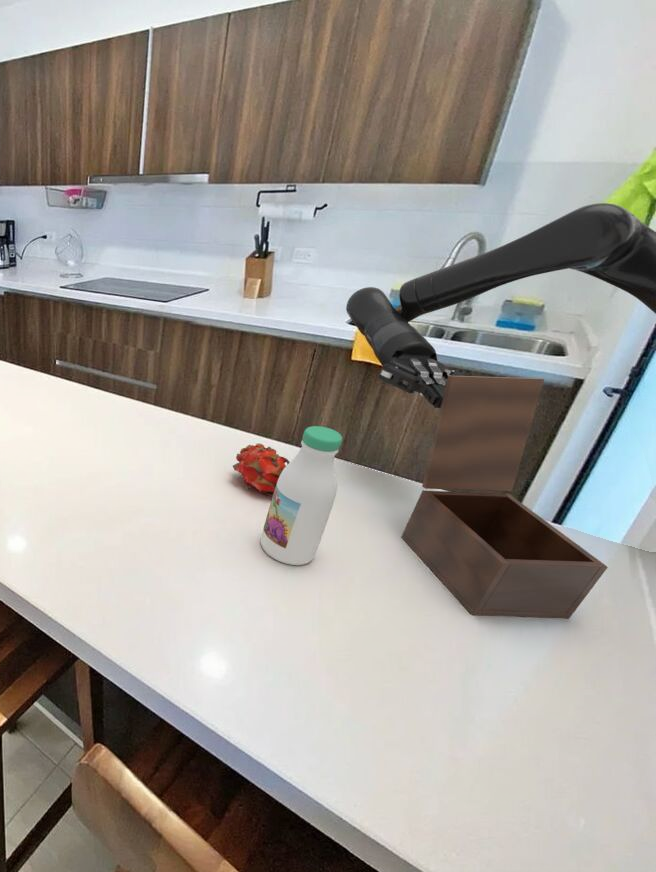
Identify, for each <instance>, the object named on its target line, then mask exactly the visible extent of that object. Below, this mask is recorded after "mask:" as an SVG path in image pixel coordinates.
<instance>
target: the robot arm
mask: <svg viewBox="0 0 656 872" xmlns="http://www.w3.org/2000/svg"><path fill="white" fill-rule="evenodd" d="M567 269H569V270H574V271H576V272H580V273H584V274H586V275H589V276H591V277H593V278H596V279H598V280H600V281H602V282H605V283H607V284H609V285H612V286H613V287H616V288H618V289H620V290H622V291H623V292H626V293H628V294H629V295H631V296H632V297H633V298H636V299H637V300H638V301H639V302H641V303H642V304H643V305H645V306H646V307H647V308H648V309H649V310H651V311H652V312H653V313H654V314H655V315H656V230H654V229H652V228H651V227H649V226H648V225H646V224H645V222H643V221H641V220H640V219H639V218H638V217H637V216H635V214H634V213H631V211H630V210H628V209H626V208H625V207H623V206H620V205H617V204H615V203H608V202H596V203H591V204H587V205H584V206H581V207H578V208H577V209H574V210H572V211H570V212H568V213H566V214H564V215H562V216H560V217H559V218H557V219H555V220H553V221H551V222H549V223H547V224H545V225H543V226H541V227H539V228H537V229H535V230H533V231H531V232H529V233H527V234H525V235H522V236H520V237H519V238H516V239H514V240H512V241H510V242H508V243H506V244H503V245H501V246H499V247H496V248H494V249H491V250H488V251H486V252H484V253H482V254H479V255H476V256H473V257H469V258H468V259H465V260H463V261H460V262H456V263H454V264H451V265H449V266H448V265H447V266H445V267H443V268H442V267H441V268H440V269H436V270H434V271H431V272H429V273H426V274H423V275H421V276H418V277H415V278H413V279H410V280H408V281H406V282H404V283H403V284H402V285H401V286H400V287H399V292H398V299H399V303H400V304H398V305H396V306H394V305H393V303H392V302H391V300H390V299H389V297H388V296H387V295H386V294H385V292H384V291H383V290H382V289H380V288H377V287H375V286H367V287H363V288H360V289H358V290H356V291H355V292H354V293H353V294H351V296H350V297H349V298H348V300H347V302H346V305H345V306H346V307H345V310H346V313H347V315H348V317H349V318H350V319H351V321H352V322H353V324H354V325H355V327H356V328H357V330H358V331H359V333H360V334H361V335H362V336H364V338H365V340H366V342H367V343H368V345H369V347H370V348H371V349H372V351H373V354H374V356H375V358H376V359H377V360H378V362H379V363H380V364H381V366H382V368H381V371H380V372H379V375H378V379H379V380H381V381H383V382H385V383H387V384H389V385H392V386H394V387H396V388H398V389H399V390H402V391H404V392H405V393H408V394H414V392H416V393H417V394H418V395H420V396H422V397H424V399H426V401H427V402H428V403H429V404H430V405H432V406H433V407H434V408H435V409H440V408H441V404H442V400H443V396H444V391H445V387H446V383H447V379H448V376H465V373H466V370H465V369H463V368H457V369H455V370H453V369H452V370H450V369H447V367H446V365H445V364H443V363H442V362H440V361H438V356H437V351H436V349H435V347H434V346H433V345H432V344H431V343H430V342H429V341H428V339H426V337H424V335H422V333H421V332H420V331H419V330H418V329H417V328H415V327H414V326H412V325H411V323H410V322H411V321H413V320H415V319H416V318H419V317H421V316H423V315H426V314H429V313H432V312H436V311H440V310H442V309H445V308H448V307H451V306H455V305H457V304H460V303H463V302H466V301H468V300H471V299H473V298H475V297H477V296H480V295H482V294H484V293H486V292H489V291H491V290H494V289H496V288H499V287H501V286H504V285H507V284H510V283H512V282H515V281H519V280H522V279H525V278H529V277H533V276H538V275H542V274H548V273H552V272H557V271H558V272H559V271H562V270H567Z"/></svg>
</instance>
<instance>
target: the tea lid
mask: <svg viewBox="0 0 656 872" xmlns="http://www.w3.org/2000/svg"><path fill="white" fill-rule="evenodd" d="M544 382H545V378H539V377H538V378H537V377H509V376H508V377H507V376H505V377H504V376H473V375H471V376H470V375H463V376H448V379H447V383H446V387H445V391H444V396H443V400H442V404H441V408H439V413H438V417H437V421H436V426H435V429H434V434H433V439H432V443H431V447H430V451H429V456H428V460H427V465H426V468H425V473H424V476H423V482H422V485H421V488H423V489H427V490H450V491H453V490H454V491H455V490H456V491H481V492H482V491H483V492H484V491H486V492H487V491H488V492H513V489H514V486H515V483H516V478H517V475H518V472H519V468H520V464H521V461H522V458H523V455H524V451H525V447H526V443H527V440H528V437H529V434H530V430H531V426H532V423H533V420H534V416H535V413H536V409H537V406H538V402H539V399H540V395H541V392H542V389H543V385H544Z"/></svg>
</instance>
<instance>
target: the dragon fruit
mask: <svg viewBox="0 0 656 872" xmlns="http://www.w3.org/2000/svg"><path fill="white" fill-rule="evenodd" d="M240 449H241V450H240V451H239V453H237V454H236V456H235V459H236V461H237V462H236V463H234V464H233V465H232V468H233V470H234V471H236V472H238V473H239V474H241V476H242V478H243V483H244V487H245V488H246V489H249V488H251V487H252V486H253V487H254V488H255V489H256V490H258V491H259V492H260V493H262V494H263V495H265V496H269V497H273V494H274V490H275V487H276V484H277V482H278V479H279V477H280V474H281V473H282V471H283V469H284V468H285V467H286V466H287V465H288V464H289V463H290V462H291V461H290V460H289V459H288V458H287V457H284V456H280V455H279V454H278V453H277V450H276V449H275V448H272V447H271V446H267V447H265V445H264V444H262V443H256V444H255V445H252V444H248V445H247V446H246V447H243V448H240ZM285 463H286V464H285Z"/></svg>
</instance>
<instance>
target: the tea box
mask: <svg viewBox="0 0 656 872" xmlns="http://www.w3.org/2000/svg"><path fill="white" fill-rule="evenodd" d="M418 497H419V498H418V500H417V501H416V504H415V506H414V508H413V510H412V513H411V515H410V517H409V519H408V521H407V523H406V525H405V527H404V530H403V532H402V534H401V537H400V538H402V539H403V541H404V542H405V543H406V544H407V545H408V547H410V549H411V550H412V551H414V553H415V554H416V555H417V556H418V557H419V558H420V560H421V561H422V562H423V563H424V564H425V565H426V566H427V567H428V569H430V571H431V572H432V573H433V574H434V575H435V576H436V577H437V578H438V579H439V581H440V582H441V583H442V584H443V585H444V586H445V587H446V588H447V590H449V592H450V593H451V594H452V595H453V596H454V597H455V598H456V600H458V601H459V603H460V604H461V605H462V606H463V607H464V608H465V610H467V612H468V613H469V614H470V615H472V616H496V617H497V616H499V617H523V618H524V617H525V618H526V617H528V618H529V617H530V618H555V619H556V618H558V619H570V618H571V617H572V615H573V614H574V613H575V612H576V610H578V608H579V607H580V605H581V604H582V603H583V601H584V600H585V598H586V597H587V596H588V594H589V593H590V592H591V590H592V589H593V588H594V586H595V585H596V584H597V583H598V581H599V580H600V579H601V577H602V576H603V575H604V573H605V571H606V570H607V569H608V568H609V567H608V566H607V565H606V564H605V563H603V562H602V561H601V560H599V559H598V558H596V557H595V556H594V555H593V554H591V553H590V552H588V551H587V550H585V549H584V548H583V547H582V546H581V545H579V544H578V543H576V542H575V541H573V540H572V539H571V538H569V537H568V536H567V535H566V534H564V533H563V532H561V531H560V530H559V529H558V528H556V527H555V526H554V525H552V524H551V523H549V522H548V521H546V520H545V519H544V518H542V517H541V516H540V515H538V514H537V513H535V512H534V511H533V510H531V509H530V508H529V507H528V506H526V505H524V503H522V502H521V501H519V500H518V499H516V498H515V496H513V495H512V494H510V493H507V492H506V493H505V492H484V491H483V492H482V491H481V492H478V491H453V490H449V491H446V490H422V491H421V493H420V495H419V496H418Z"/></svg>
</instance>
